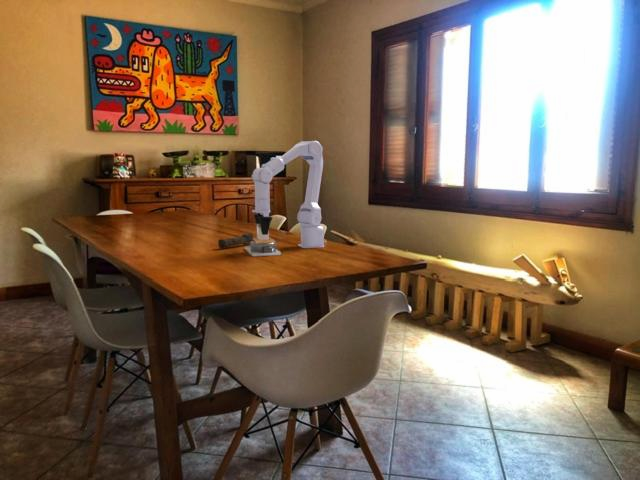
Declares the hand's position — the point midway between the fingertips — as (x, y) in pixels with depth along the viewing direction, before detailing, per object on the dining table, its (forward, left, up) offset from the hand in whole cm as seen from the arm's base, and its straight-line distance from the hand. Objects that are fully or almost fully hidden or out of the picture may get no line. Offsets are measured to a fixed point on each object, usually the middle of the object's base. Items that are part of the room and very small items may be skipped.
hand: (263, 233), depth 203 cm
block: (0, 0, -3) cm, 3 cm away
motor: (0, 0, -7) cm, 7 cm away
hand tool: (+13, -14, -11) cm, 21 cm away
